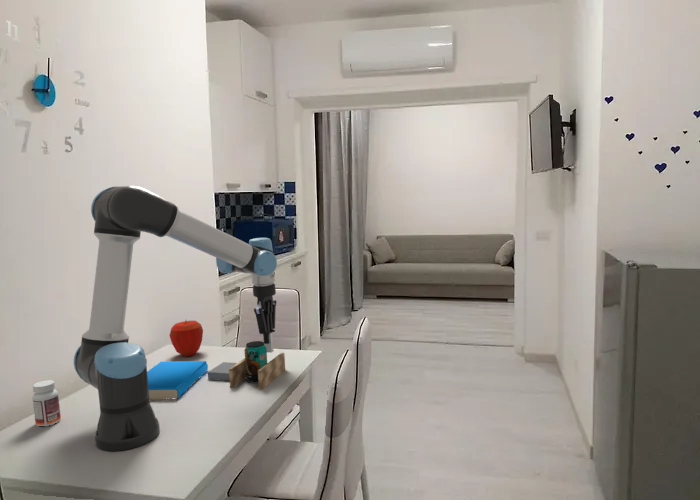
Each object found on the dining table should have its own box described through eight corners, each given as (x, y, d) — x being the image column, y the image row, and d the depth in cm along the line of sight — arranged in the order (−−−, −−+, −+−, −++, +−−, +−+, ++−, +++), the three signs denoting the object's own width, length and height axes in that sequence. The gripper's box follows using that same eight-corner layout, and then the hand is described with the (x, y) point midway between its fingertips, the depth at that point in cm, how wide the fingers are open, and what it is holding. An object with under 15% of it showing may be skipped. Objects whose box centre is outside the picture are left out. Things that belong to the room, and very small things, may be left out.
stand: (235, 381, 173) (234, 373, 172) (208, 379, 175) (207, 372, 175) (249, 370, 182) (249, 363, 182) (223, 369, 185) (223, 362, 185)
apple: (197, 348, 212) (194, 313, 210) (210, 354, 202) (207, 318, 201) (166, 355, 204) (163, 319, 202) (178, 362, 195) (175, 324, 193)
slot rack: (261, 389, 164) (260, 370, 164) (230, 387, 167) (228, 368, 167) (285, 369, 181) (284, 352, 181) (256, 367, 185) (255, 351, 184)
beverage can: (242, 379, 174) (239, 344, 172) (260, 373, 178) (257, 339, 177) (254, 384, 169) (252, 348, 167) (272, 378, 173) (270, 342, 172)
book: (123, 388, 161) (159, 360, 185) (125, 402, 161) (161, 372, 186) (178, 388, 159) (207, 359, 184) (180, 401, 160) (208, 371, 185)
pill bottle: (63, 416, 151) (59, 378, 150) (57, 425, 145) (53, 385, 144) (39, 419, 149) (35, 380, 148) (32, 429, 143) (27, 388, 142)
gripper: (265, 288, 171) (270, 358, 174) (281, 280, 184) (286, 346, 187) (244, 287, 173) (250, 357, 176) (262, 280, 186) (267, 345, 189)
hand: (269, 351), depth 182 cm, fingers closed
